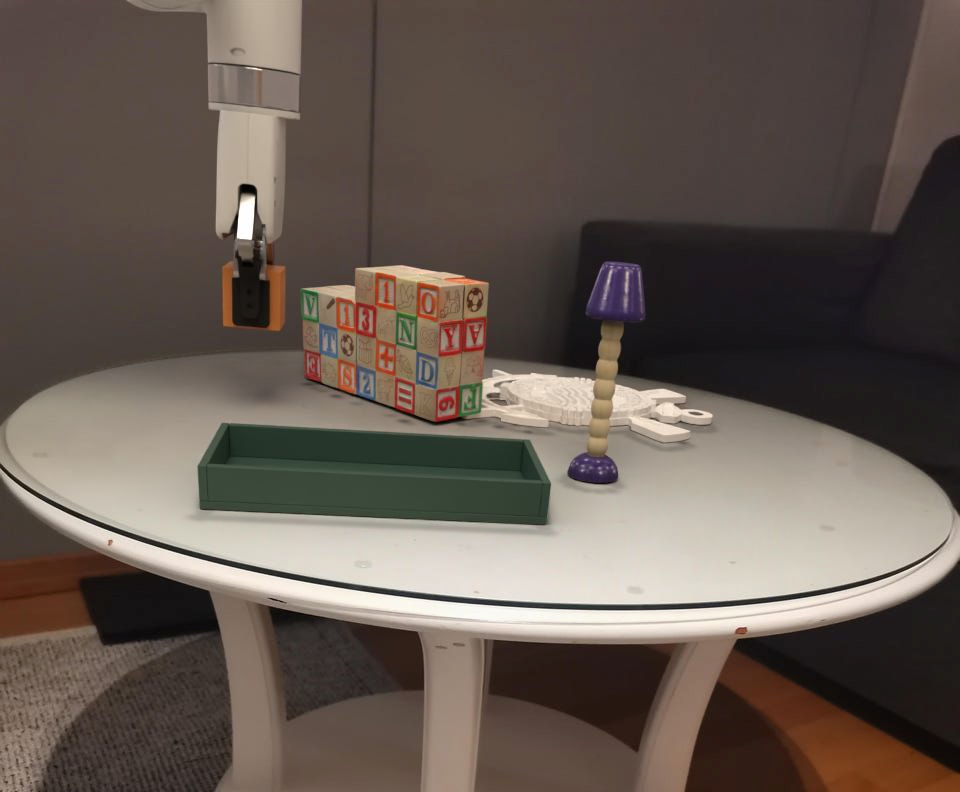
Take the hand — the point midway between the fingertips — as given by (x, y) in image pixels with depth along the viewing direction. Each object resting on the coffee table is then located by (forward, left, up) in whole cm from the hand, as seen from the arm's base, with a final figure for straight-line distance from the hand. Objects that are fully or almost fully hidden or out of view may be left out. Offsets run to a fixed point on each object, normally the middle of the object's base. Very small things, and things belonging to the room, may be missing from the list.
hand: (254, 319), depth 89 cm
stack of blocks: (+13, +6, -8) cm, 16 cm away
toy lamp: (+30, -17, -8) cm, 35 cm away
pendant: (+33, +7, -8) cm, 34 cm away
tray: (+12, -24, -8) cm, 28 cm away
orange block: (0, 0, 0) cm, 0 cm away
